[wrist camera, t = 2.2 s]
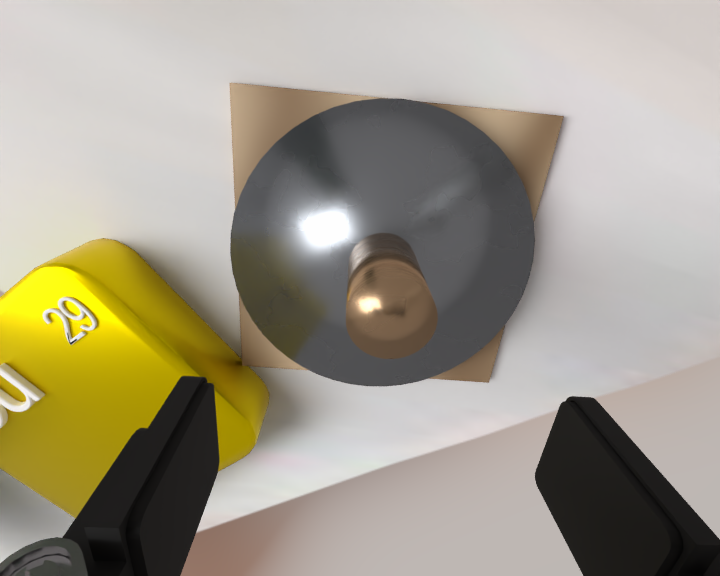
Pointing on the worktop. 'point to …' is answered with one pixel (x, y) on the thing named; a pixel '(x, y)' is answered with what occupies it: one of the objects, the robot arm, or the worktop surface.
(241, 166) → the mat
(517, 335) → the worktop surface
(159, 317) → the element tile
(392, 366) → the lid
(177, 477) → the robot arm
